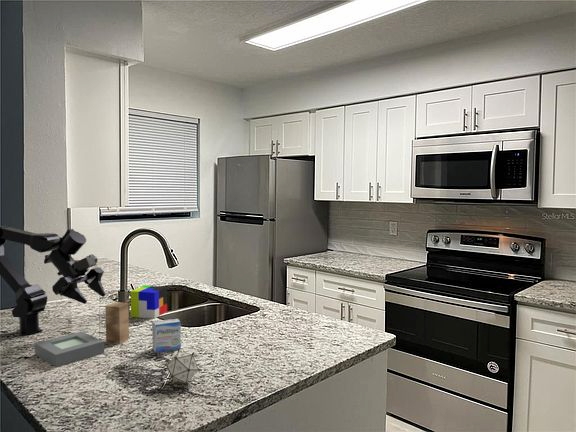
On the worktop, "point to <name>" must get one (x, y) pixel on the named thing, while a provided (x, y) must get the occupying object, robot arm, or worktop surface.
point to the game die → (182, 367)
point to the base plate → (69, 348)
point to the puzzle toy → (148, 301)
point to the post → (117, 322)
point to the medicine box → (166, 335)
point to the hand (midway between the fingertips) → (95, 299)
